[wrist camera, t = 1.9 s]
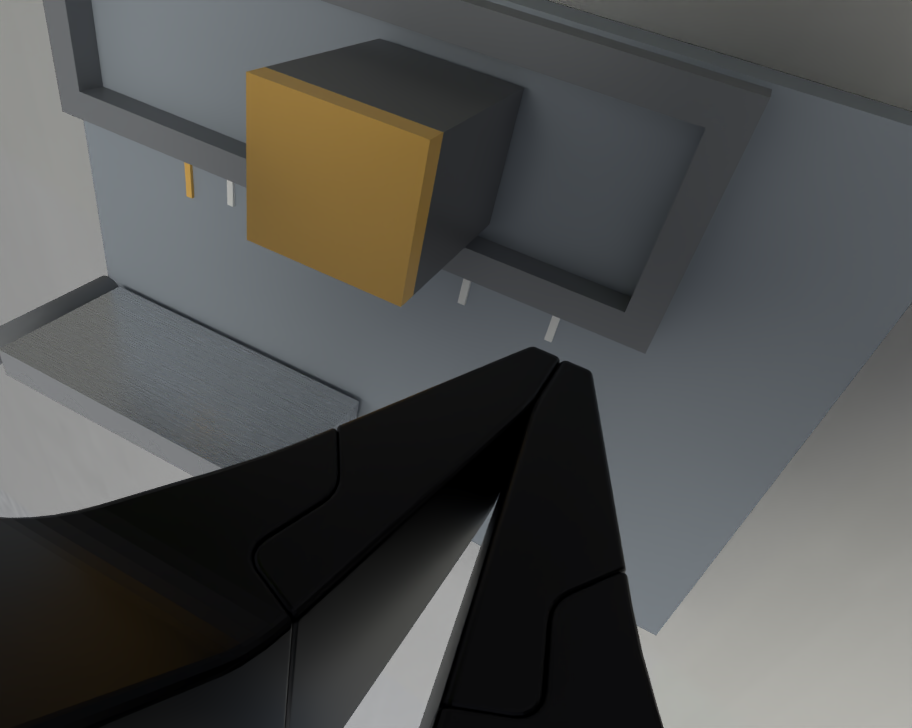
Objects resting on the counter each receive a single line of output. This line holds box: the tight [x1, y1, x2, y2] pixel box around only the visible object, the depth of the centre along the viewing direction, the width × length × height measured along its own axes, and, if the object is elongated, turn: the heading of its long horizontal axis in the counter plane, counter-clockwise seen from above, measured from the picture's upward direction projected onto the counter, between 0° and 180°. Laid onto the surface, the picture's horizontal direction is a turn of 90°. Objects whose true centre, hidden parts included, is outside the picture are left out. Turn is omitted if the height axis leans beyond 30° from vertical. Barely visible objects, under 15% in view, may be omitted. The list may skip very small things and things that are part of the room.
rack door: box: [0, 287, 359, 477], centre depth 21 cm, size 10×2×4 cm, turn 76°
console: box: [0, 0, 912, 635], centre depth 17 cm, size 22×16×6 cm
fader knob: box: [246, 38, 524, 307], centre depth 13 cm, size 4×3×4 cm
